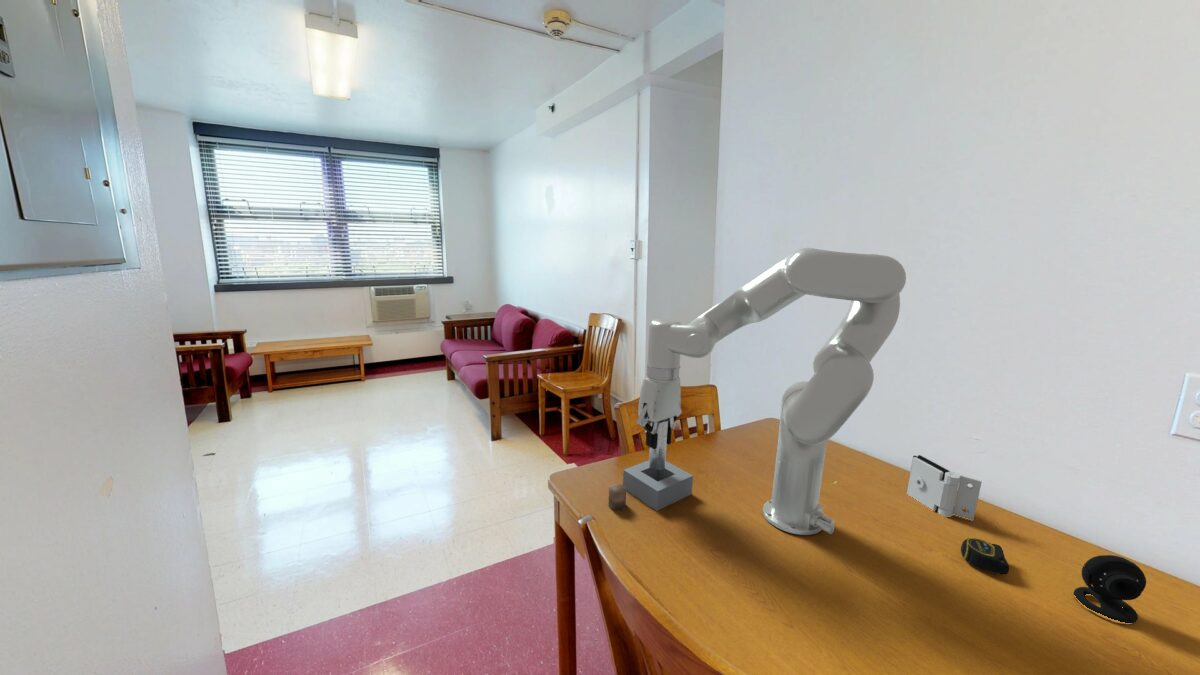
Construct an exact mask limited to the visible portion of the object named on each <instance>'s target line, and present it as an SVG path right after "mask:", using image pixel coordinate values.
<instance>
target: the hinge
mask: <svg viewBox="0 0 1200 675" xmlns="http://www.w3.org/2000/svg"><path fill="white" fill-rule="evenodd" d="M908 478H909V479H908V483H907V488H906V495H907V494H908V495H907V496H908V497H910V496H911V497H910V498H912V497H913V498H914V499H913V498H912V499H913V500H915V499H916V500H917V501H916V500H915V501H916V502H918V501H919V502H921V503H922V504H921V503H920V504H921V505H923V504H924V505H926V506H927V507H929V508H930V509H932V510H936V511H937V513H938V512H939V514H941V515H944V516H949V517H950V516H952V517H953V515H952V514H955V515H958V516H961V517H965V518H968V519H971V520H973V521H974V520H975V515H976V510H977V505H978V502H979V496H980V492H981V486H982V481H983V480H982V479H979V478H975V477H971V476H968V475H964V474H961V473H957V472H955V471H953V470H951V469H950V468H948V467H946V466H944V465H942V464H940V463H938V462H937V461H934V460H932V459H931V458H929V457H927V456H923V455H920V454H919V455H913V456H912V460H911V466H910V472H909V477H908ZM969 485H971V486H969ZM919 502H918V503H919ZM924 505H923V506H924ZM926 506H925V507H926ZM927 507H926V508H927ZM937 507H938V508H937ZM929 508H928V509H929ZM930 509H929V510H930ZM964 509H966V511H964ZM932 510H931V511H932ZM939 514H938V515H939ZM941 515H940V516H941Z"/></svg>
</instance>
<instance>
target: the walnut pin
mask: <svg viewBox="0 0 1200 675" xmlns="http://www.w3.org/2000/svg"><path fill="white" fill-rule="evenodd" d="M626 503H627V491H626V487H625V486H624V485H623V483H622V484H621V483H613V484H611V485H609V487H608V508H609V509H610V510H613V511H615V512H616V511H617V512H618V511H623V510H624V509H626V508H627V507H626V506H627V504H626Z"/></svg>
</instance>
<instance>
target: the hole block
mask: <svg viewBox="0 0 1200 675" xmlns="http://www.w3.org/2000/svg"><path fill="white" fill-rule="evenodd" d="M622 473H623V474H622V485H624V486H625V487H626V492H628V493H629V494H631V495H632V496H634V497H635V498H637V499H638V500H639V501H641V502H643V503H644V504H645V505H647V506H648V507H650V508H652V509H653V510H654V511H659V510H661V509H664V508H666V507H669V505H673V504H675V503H676V502H678V501H680V500H683V499H685V498H687V497H689V496H691V495H692V494H693V482H694V481H693V480H694V476H693V474H691V473H689V472H687V471H685V470H683V469H682V468H680V467H678V466H676V465H674V464H673V463H670V462H669V461H667V460H666V461H665V468H664V469H661V470H655V469H652V468H650V467H649V459H648V460H645V461H643V462H640V463H638V464H635V465H632V466H630V467H628V468H625V469H623V472H622Z"/></svg>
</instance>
